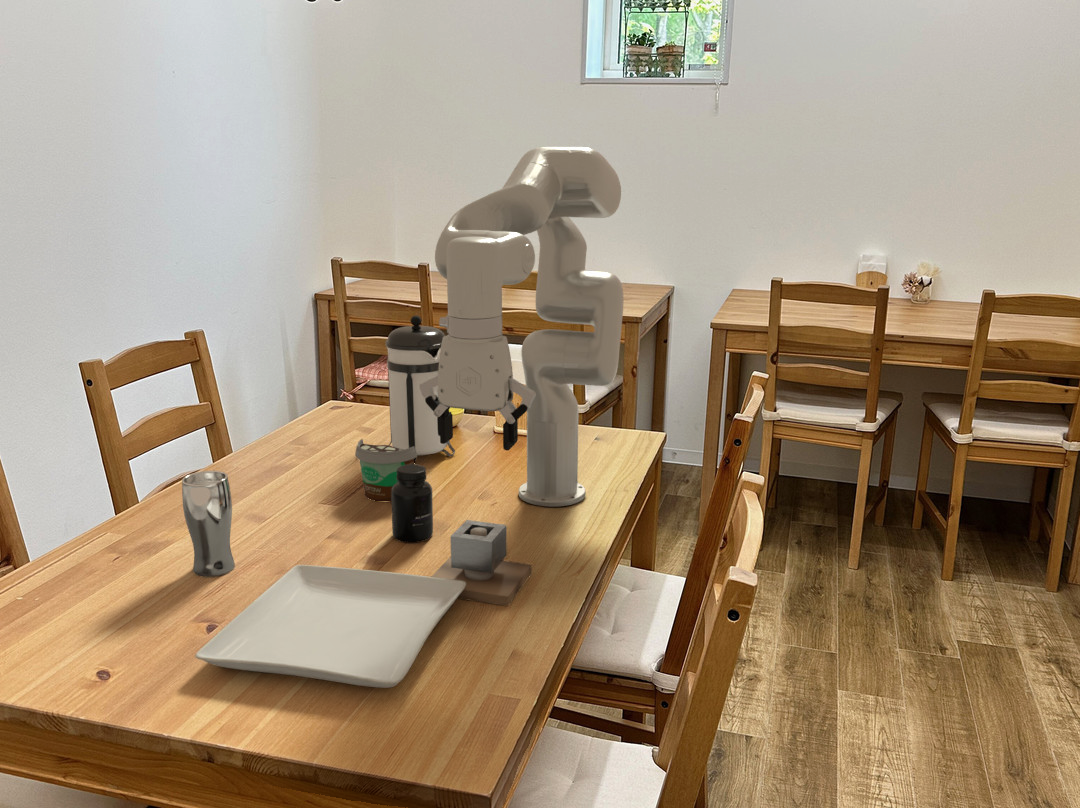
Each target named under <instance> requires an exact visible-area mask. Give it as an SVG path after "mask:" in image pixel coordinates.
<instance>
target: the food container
mask: <svg viewBox="0 0 1080 808" xmlns="http://www.w3.org/2000/svg"><path fill="white" fill-rule="evenodd" d="M354 455H355V457H356V458H357V460H359V466H360V473H361V477H362V485H363V492H364V497H365V496H366V497H367V498H366V497H365V498H366V499H368V498H369V499H371V500H370V501H372V500H375V501H374V502H377V501H391V489H392V487H393V485H394V484H395V483H397V482H398V481H397V479H396V476H397V469H398V467H400V466H403V465H409V464H414V458H416V457H417V458H418V456H417V453H416V450H415V448H414V446H413V447H411V448H408V449H399V448H396V447H393V446H392V445H390V446H389V444H388V445H386V444H382V445H381V444H380V445H379V444H378V445H373V444H367V443H364V440H363V438H362V439H360V440H359V441H358V442H357V444H356V447H355V453H354ZM417 458H416V459H417ZM369 499H368V500H369Z"/></svg>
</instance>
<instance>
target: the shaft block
mask: <svg viewBox="0 0 1080 808" xmlns="http://www.w3.org/2000/svg"><path fill="white" fill-rule="evenodd" d="M471 535H477V536H484V537H486V536H487V530H486V529H485V528H480V527H479V528H473V529H471ZM532 565H533V564H532V563H526V562H525V563H524V562H517V561H510V560H505V559H503V561H502V562H501V563H500V564H499V566H498V567H497V568H496V569H495V571H494V572H493V573H485V572H478V571H472V570H465V569H458V568H451V555H450V556H449V557H448V558H447V560H445V562H444V563H443V564H442V565H441V566H440V567H438V569H437V570H436V571H435V572H434V573H433V574H432V575H431V576H430V577H435V578H444V579H453V580H461V581H465V582H466V586H465V588H464V590H463V591H462V592H461V594H460V595H459V596H458V597H457V599H459V598H460V599H461V600H466V599H467V601H472V600H473V601H474V602H479V603H484V604H485V603H486V604H492V605H499V606H506V607H509V606H510V604H511V603H512V601H513V600H514V598H515V597H516V596H517V595H518V593H519V592H520V590H521V589H522V588H523V586H524V585H525V584H526V582H527V581H528V579H529V578H530V577H529V576H532V574H533V573H532V572H533V566H532Z"/></svg>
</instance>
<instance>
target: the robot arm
mask: <svg viewBox="0 0 1080 808" xmlns="http://www.w3.org/2000/svg"><path fill="white" fill-rule="evenodd" d="M621 185H622V184H621V182H620V179H619V176H618V173H617V172H616V170H615V169H614V167H613V166H612V165H611V164H610V162H609V161H608V160H607V159H606V157H604V155H602V154H601V153H600V152H598V150H595V149H593V148H590V147H586V146H585V147H583V146H540V147H536V148H532V149H530V150H528V151H527V152H526V153H524V154H523V156H522V157H521V158H520V159H519V162H518V163H517V164H516V166H515V167H514V169H513V171H512V172H511V174H510V176H509V177H508V178H507V181H506V182H505V183H504V185H503V186H502V188H501V189H498V190H496V191H494V192H491V193H489V194H487V195H484V196H483V197H481V198H479V199H476V200H474V201H472V202H470V203H468V204H467V205H465V206H463V207H462V208H460V209H459V210H457V211H456V212H455V213H454V214H453V215H452V216H451V218H450V219H449V221H448V222H447V224H446V225H445V227H444V228H443V230H442V231H441V233H440V235H439V238H438V239H437V243H436V245H435V246H436V247H435V251H434V262H435V267H436V269H437V271H438V273H439V274H440V275H441V277H443V278H444V279H445V280H446V286H447V288H446V289H447V314H446V316H445V317H443V316H442V317H441V316H440V317H439V320H438V323H439V327H441V328H442V327H444V328H445V329H446V333H447V335H445V336H444V337H443V339H442V344H441V351H440V359H439V370H438V376H436V377H434V378H432V379H430V380H428V381H425V382H423V383H422V384H420V385H419V389H420V391H421V393H422V395H423V397H425V402H426V404H427V405H428V406H429V407H430V408H431V409H432V410H433V411H434V415H435V416H436V417H437V424H438V436H440V443H441V444H445V443H447V442H448V441H449V440H452V439H453V438H454V430H453V429H454V426H453V423H454V422H453V413H452V411H450V409H451V408H452V409H462V410H469V411H471V410H473V411H483V412H499V414H501V416H502V418H504V420H505V422H504V423H503V425H502V446H503V447H502V449H503V450H504V451H510V450H511V449H512V448H513V447H514V446H515V444H516V443H518V440H519V439H518V438H519V437H518V436H519V435H518V433H519V430H518V429H519V428H518V424H519V419H520V418H521V417H522V416H523V415H524V414H525V413H526V482H524V483H523V484H522V485H520V486H519V488H518V496H519V498H520V499H521V500H522V501H525V502H526V503H527V504H530V505H535V506H540V507H547V508H548V507H550V508H551V507H552V508H554V507H557V508H558V507H565V506H572V505H574V504H577V503H579V502H581V501H583V500H584V499H585V497H586V487H584V486H583V484H581V483H579V482H578V475H579V474H578V467H579V465H578V463H579V412H580V411H579V403H578V400H577V398H576V396H575V394H574V393H573V391H572V389H571V388H570V386H569V385H579V386H595V387H596V386H597V387H598V386H599V387H603V386H608V385H610V384H612V382H614V380H615V378H616V375H617V373H618V368H619V360H620V347H621V337H622V325H623V315H624V289H623V285H622V282H621V280H620V278H619V277H618V276H617V275H616V274H614V273H612V272H607V271H594V270H593V271H591V270H588V271H587V270H586V262H587V261H586V260H587V250H588V249H587V248H588V247H587V242H586V239H585V237H584V236H583V234H582V232H581V230H580V229H579V227H578V226H577V225H576V224H575V223H574V222H573V220H572V219H571V218H585V219H586V218H587V219H588V218H590V219H592V218H593V219H595V218H596V219H599V218H600V219H605V218H609V217H611V216H613V215H614V214H616V212H617V210H619V206H620V203H621V199H622V198H621V197H622V187H621ZM535 232H537V237H538V241H539V257H538V266H537V277H536V288H535V311H536V313H537V315H538V316H539V317H540V318H541V319H542V320H544V321H547V322H553V323H560V324H561V323H563V324H572V325H573V324H575V325H590V326H592V327H593V328H594V329H593V331H578V330H568V329H567V330H566V329H546V328H545V329H539V330H535V331H533V332H530V333H529V334H528V335H527V336H526V337H525V339H524V340H523V343H522V345H521V355H520V356H521V363H522V369H523V375H524V380H525V384H523V383H521V382H520V381H518V380H516V379H515V378H514V375H513V364H512V356H511V351H510V345H509V342H508V341H509V340H508V338H507V336H505V335H503V299H502V298H503V286H505V285H507V286H508V285H509V286H511V285H517V284H520V283H522V282H523V281H525V280H526V279H528V278H529V276H530V275H531V273H532V271H533V269H534V266H535V261H536V253H535V249H534V248H535V247H534V246H533V243H532V242H531V240H530V239H529V238H528V237H527V236H525V235H528V234H532V233H535ZM437 385H438V397H437V396H436V395H435V394H434V391H433V387H435V386H437ZM514 394H516V395H518V396H520V398H521V402H520V404H519V406H518V407H517V406H516V405H515V403H513V402H512V401H513V399H514Z"/></svg>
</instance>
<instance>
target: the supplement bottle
mask: <svg viewBox="0 0 1080 808" xmlns="http://www.w3.org/2000/svg"><path fill="white" fill-rule="evenodd" d="M396 479H397V481H398V482H397V483H395V484H394V485H393V487H392V489H391V502H390V503H391V527H392V528H391V529H392V537H393V538H394V539H395V540H397V541H398V542H401V543H408V544H409V543H412V544H413V543H420V542H424V541H427V540H429V539H430V538H431V537H432V536H433V533H434V522H433V521H434V517H433V511H434V509H433V506H434V505H433V504H434V503H433V488H432V485H431V484H430V482H428V481H426V480H427V469H426V467H425V466H424V465H421V464H417V463H415V464H409V465H403V466H400V467H398V469H397V476H396Z"/></svg>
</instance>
